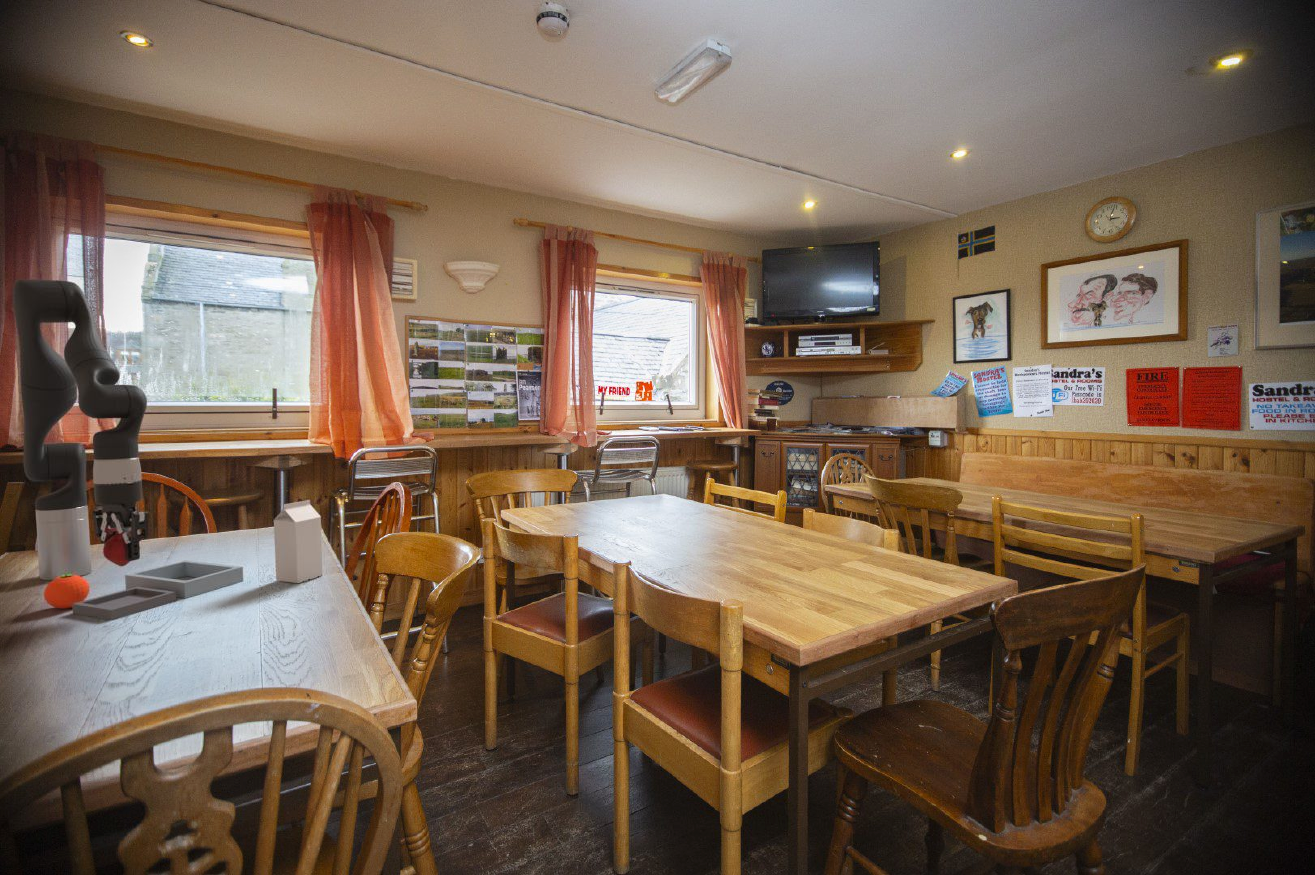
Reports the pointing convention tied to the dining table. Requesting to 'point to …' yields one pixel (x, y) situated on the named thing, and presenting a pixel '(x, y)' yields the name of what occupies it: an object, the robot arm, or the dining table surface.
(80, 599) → the clementine
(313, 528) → the milk carton
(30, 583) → the dining table surface
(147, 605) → the tray
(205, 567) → the shallow gray box
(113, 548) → the onion
